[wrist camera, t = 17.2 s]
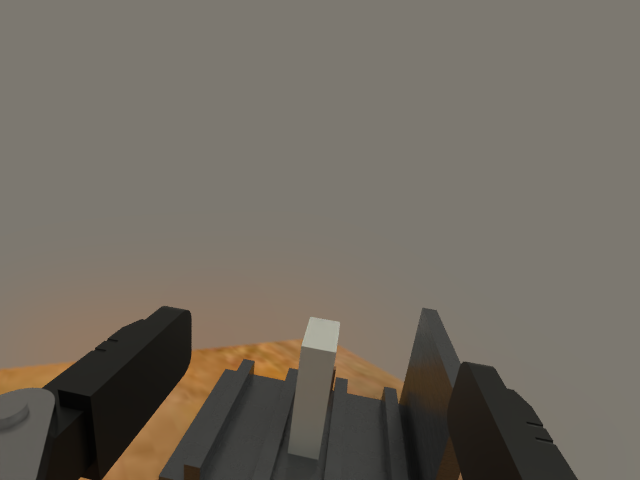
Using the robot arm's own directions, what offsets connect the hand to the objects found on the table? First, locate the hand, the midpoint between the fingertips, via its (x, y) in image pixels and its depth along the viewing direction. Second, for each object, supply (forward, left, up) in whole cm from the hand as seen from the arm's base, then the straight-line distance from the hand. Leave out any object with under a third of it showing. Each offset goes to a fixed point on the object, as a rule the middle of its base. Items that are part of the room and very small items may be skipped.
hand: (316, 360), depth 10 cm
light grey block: (+1, -18, -23) cm, 29 cm away
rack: (+1, -18, -24) cm, 30 cm away
